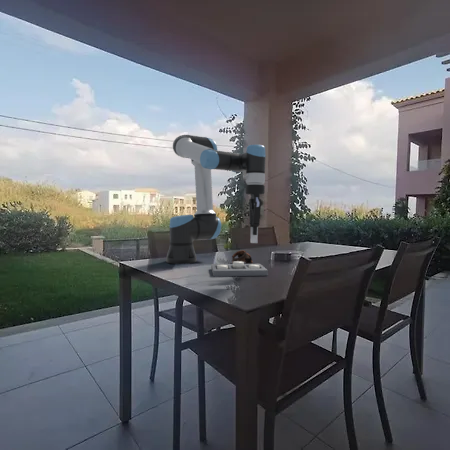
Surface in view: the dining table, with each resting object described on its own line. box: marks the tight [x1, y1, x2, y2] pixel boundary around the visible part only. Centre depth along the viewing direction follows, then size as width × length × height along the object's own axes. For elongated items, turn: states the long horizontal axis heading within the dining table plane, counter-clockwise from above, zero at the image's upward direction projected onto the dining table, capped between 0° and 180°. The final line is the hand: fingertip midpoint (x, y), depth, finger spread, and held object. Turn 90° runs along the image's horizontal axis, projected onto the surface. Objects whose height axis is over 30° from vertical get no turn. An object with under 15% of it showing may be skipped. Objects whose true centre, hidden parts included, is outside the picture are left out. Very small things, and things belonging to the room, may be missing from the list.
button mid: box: [233, 261, 245, 269], centre depth 123 cm, size 4×4×2 cm
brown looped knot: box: [231, 250, 254, 264], centre depth 144 cm, size 12×10×8 cm
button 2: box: [249, 265, 260, 269], centre depth 124 cm, size 4×4×2 cm
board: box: [210, 263, 269, 277], centre depth 123 cm, size 14×21×3 cm, turn 96°
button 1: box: [217, 265, 228, 269], centre depth 122 cm, size 4×4×2 cm
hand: (253, 242), depth 123 cm, fingers closed
